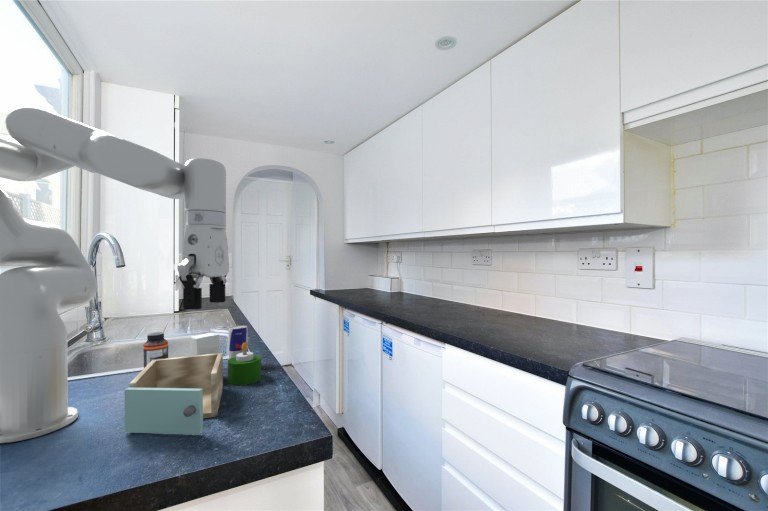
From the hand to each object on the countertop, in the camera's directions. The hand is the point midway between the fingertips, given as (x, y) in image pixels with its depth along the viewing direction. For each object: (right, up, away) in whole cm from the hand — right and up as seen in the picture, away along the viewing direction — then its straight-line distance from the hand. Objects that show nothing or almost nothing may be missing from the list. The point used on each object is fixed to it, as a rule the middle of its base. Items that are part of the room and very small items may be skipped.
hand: (205, 305), depth 69 cm
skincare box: (-12, -24, +23) cm, 35 cm away
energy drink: (-8, -24, +33) cm, 41 cm away
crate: (-8, -23, +6) cm, 25 cm away
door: (-5, -23, -6) cm, 24 cm away
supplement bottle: (-29, -24, +29) cm, 48 cm away
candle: (-1, -24, +23) cm, 33 cm away
